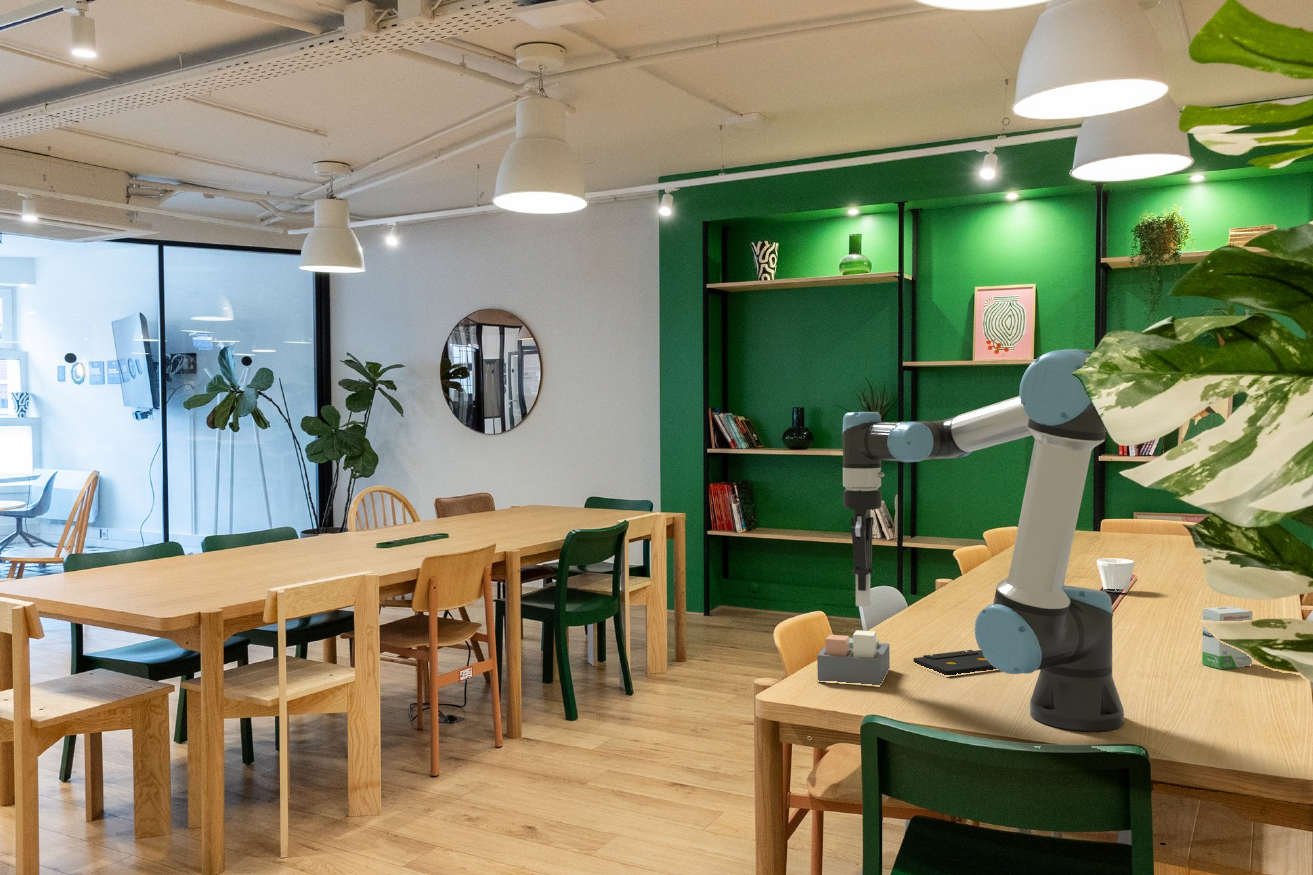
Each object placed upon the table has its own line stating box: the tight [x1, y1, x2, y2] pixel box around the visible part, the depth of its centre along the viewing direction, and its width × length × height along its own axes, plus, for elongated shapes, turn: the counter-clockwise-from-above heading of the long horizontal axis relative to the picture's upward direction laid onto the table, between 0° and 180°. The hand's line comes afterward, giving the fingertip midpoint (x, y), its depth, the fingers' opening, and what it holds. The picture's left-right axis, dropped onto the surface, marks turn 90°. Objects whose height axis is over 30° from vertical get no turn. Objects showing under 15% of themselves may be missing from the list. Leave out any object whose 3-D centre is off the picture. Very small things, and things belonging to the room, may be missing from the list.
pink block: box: [825, 634, 850, 656], centre depth 199 cm, size 4×4×6 cm
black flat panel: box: [912, 649, 996, 675], centre depth 207 cm, size 18×12×2 cm, turn 110°
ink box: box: [1201, 605, 1253, 670], centre depth 204 cm, size 9×5×12 cm, turn 105°
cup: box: [1096, 557, 1135, 594], centre depth 286 cm, size 10×10×9 cm
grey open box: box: [816, 637, 891, 685], centre depth 201 cm, size 14×12×6 cm
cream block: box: [852, 629, 877, 658], centre depth 197 cm, size 4×4×6 cm
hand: (863, 605), depth 197 cm, fingers closed
